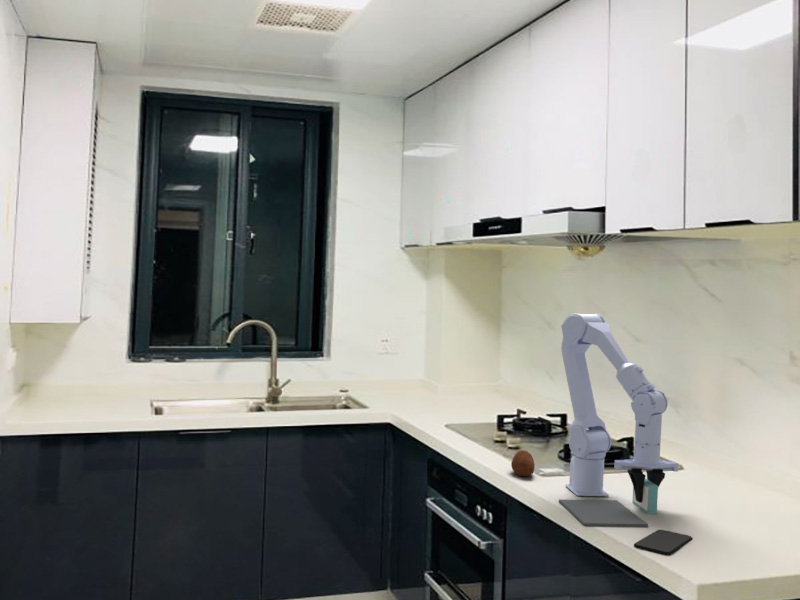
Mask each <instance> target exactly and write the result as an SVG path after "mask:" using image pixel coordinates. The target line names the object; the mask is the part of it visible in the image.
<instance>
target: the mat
mask: <svg viewBox="0 0 800 600" xmlns="http://www.w3.org/2000/svg"><path fill="white" fill-rule="evenodd" d="M558 503H559V504H560V505H562V507H563V508H565V509H566V511H568V513H569V514H571V515H572V516H573V517H574V518H575V519H576V520H577V521H578V522H579V523H580V524H581V525H582V526H583V527H625V528H627V527H628V528H629V527H630V528H631V527H635V528H639V527H640V528H649V523H648V522H647V521H645V520H644V519H643V518H641V517H640V516H638V515H637V514H636V513H635V512H633V511H631V510H630V509H629V508H628V507H626V506H625V505H624V504H622V503H621V502H620V501H618V500H614V499H612V500H608V499H607V500H606V499H603V500H601V499H558Z"/></svg>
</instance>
